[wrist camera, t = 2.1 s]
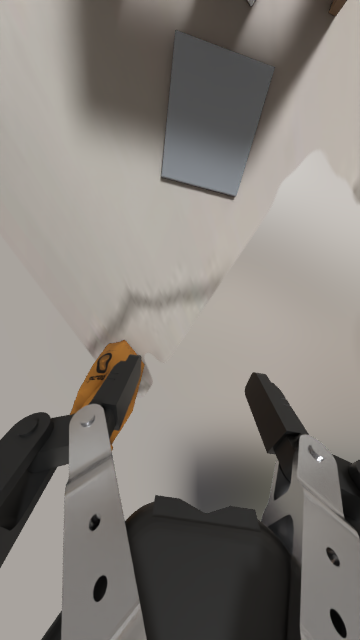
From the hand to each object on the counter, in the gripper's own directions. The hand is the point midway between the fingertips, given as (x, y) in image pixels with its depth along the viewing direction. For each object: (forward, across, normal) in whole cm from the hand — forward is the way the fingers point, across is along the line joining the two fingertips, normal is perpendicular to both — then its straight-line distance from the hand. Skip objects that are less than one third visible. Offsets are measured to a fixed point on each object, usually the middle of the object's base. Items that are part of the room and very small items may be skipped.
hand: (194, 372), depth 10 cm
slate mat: (+24, +1, -24) cm, 34 cm away
